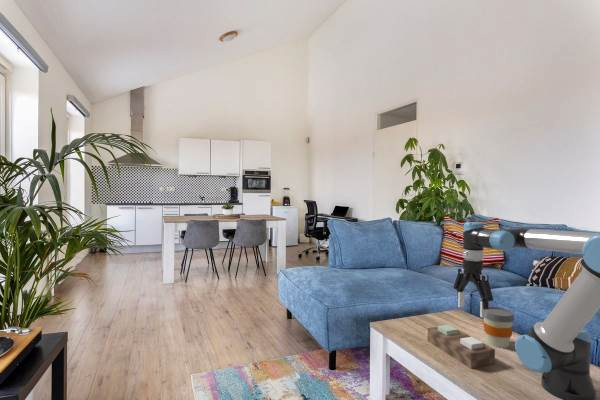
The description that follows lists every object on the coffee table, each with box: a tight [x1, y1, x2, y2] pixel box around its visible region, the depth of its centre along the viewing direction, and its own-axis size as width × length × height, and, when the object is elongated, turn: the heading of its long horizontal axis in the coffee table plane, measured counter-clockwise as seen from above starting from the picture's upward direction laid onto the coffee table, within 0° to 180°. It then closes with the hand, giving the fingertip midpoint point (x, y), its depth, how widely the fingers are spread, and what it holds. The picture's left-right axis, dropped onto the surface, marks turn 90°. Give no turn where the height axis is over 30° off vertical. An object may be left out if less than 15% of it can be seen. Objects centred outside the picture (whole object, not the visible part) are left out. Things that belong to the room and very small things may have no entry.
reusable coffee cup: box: [482, 306, 515, 349], centre depth 156 cm, size 13×13×15 cm
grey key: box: [460, 336, 484, 350], centre depth 141 cm, size 6×6×5 cm
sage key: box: [437, 324, 459, 335], centre depth 155 cm, size 6×6×5 cm
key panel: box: [427, 326, 496, 370], centre depth 148 cm, size 26×12×6 cm, turn 18°
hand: (472, 311), depth 141 cm, fingers open, 11 cm apart
